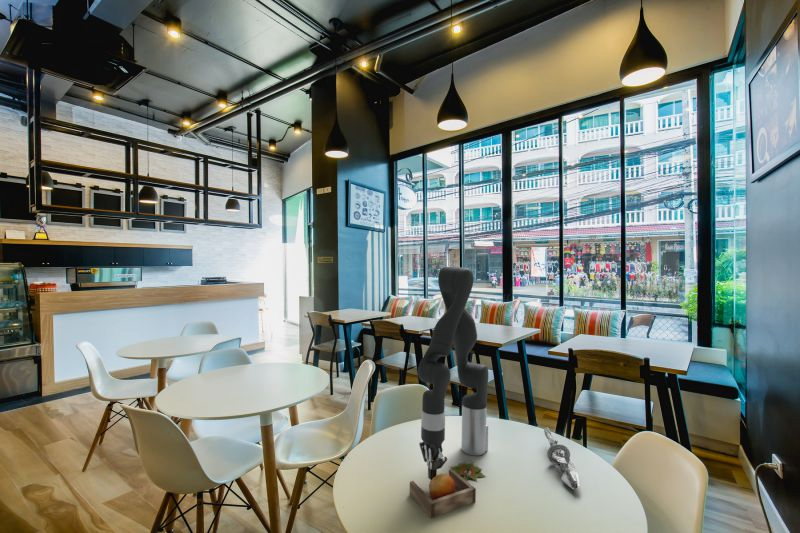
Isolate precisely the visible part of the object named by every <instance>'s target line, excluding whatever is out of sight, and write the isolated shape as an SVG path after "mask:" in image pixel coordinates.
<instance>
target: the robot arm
mask: <svg viewBox="0 0 800 533" xmlns="http://www.w3.org/2000/svg"><path fill="white" fill-rule="evenodd" d="M437 278H438V279H437V283H438V288H439V292H440V294H441V297H442V300H443V304H444V306H445V310H446V312H445V313H443V315H441V317H440V318H439V319H438V321H437V322H436V324H435V325H434V327H433V331H432V334H431V339H430V342H429V346H428V348H427V349H426V351H425V354H424V355H423V357H422V358H421V360H420V362H419V364H418V367H417V376H418V379H419V380H420V381H421V382H422V383H426V384H429V385H433V389H427V390H425V391H424V392H423V394H422V402H421V404H422V406H421V408H422V410H421V417H420V418H421V419H420V421H421V422H420V423H421V427H420V440H422V441H421V442H419V444H418V445H419V448H420V452H421V455H422V458H423V462H424V463H426V466H427V467H428V469H427V475H428V476H427V477H428V479H429V480H430V481H431V480H432V479H433V478H434V477H435V476H437V475H438V470H440V469H442V468H443V466H444V465H445V464H446V463H447V461H448V458H447V456H444V455H443V447H442V444H443V443H444V442H445V439H446V437H445V436H446V433H445V432H446V415H445V404H446V403H445V401H446V400H445V399H446V395H447V391H448V388H449V384H450V380H451V371H450V368H449V366H447V365H446V364H444V363H442V362H438V360H439V358H442V357H448V356H450V354H451V351H452V347H454V352H455V358H456V369H457V376H458V377H457V378H458V381H459V384H461V386H463V387H465V388H472V389H476V392H474V393H468V394H465V395H464V396H463V397H462V399H461V400H462V402H461V403H462V404H461V405H462V406H461V451H462V452H463V453H465V454H467V455H469V456H482V455H484V454H485V453H486V452H487V451H488V450H489V425H488V424H487V406H488V405H487V401H488V388H489V386H488V385H489V369H488V367H487V365H486V364H481V363H474V362H470V361H469V360H468V359H469V358H468V356H469V354H470V353H471V351H472V349H473V348H474V346H475V344H476V342H477V340H478V333H477V332H478V331H477V327H476V322H475V320H474V318H473V316H472V315H471V313H470V312H469V310H468V309H467V308H466V305H467V303H468V301H469V299H470V298H469V297H470V295H471V293H472V290H473V286H474V282H475V281H474V273H473V271H472V270H471V269H470V268H467V267H460V266H443V267H442V268H440V270H439V271H438V276H437Z"/></svg>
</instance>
